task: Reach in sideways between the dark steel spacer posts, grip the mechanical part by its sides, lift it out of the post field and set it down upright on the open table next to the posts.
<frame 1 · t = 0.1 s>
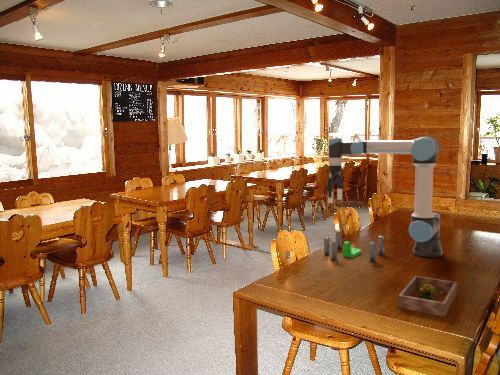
hand: (335, 201, 260), 28 cm above the table, tool pointing down, fingers open, 13 cm apart
spacer posts: (353, 254, 250), on the table
mechanical part: (353, 255, 250), on the table
christmas decoration: (428, 301, 182), resting in wooden tray
wooden tray: (428, 300, 182), on the table
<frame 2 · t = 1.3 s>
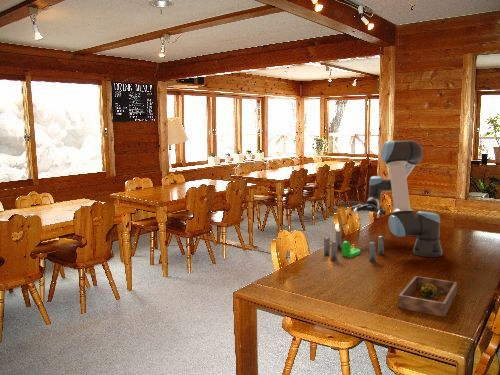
hand: (365, 214, 263), 19 cm above the table, tool horizontal, fingers open, 13 cm apart
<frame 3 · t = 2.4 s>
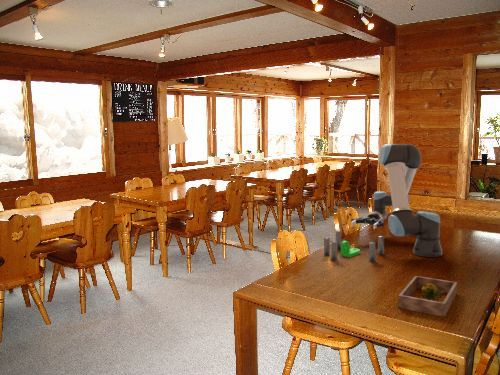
hand: (362, 225, 263), 13 cm above the table, tool horizontal, fingers open, 13 cm apart
christmas decoration: (431, 300, 183), resting in wooden tray
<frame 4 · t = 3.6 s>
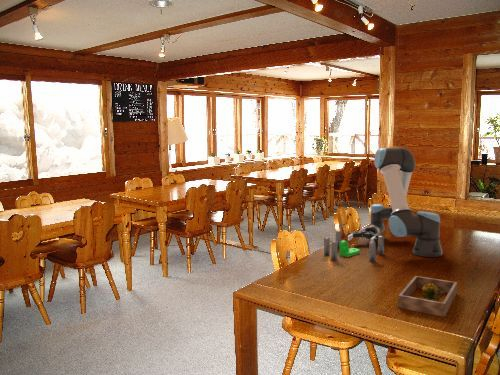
hand: (359, 239, 258), 6 cm above the table, tool horizontal, fingers open, 13 cm apart
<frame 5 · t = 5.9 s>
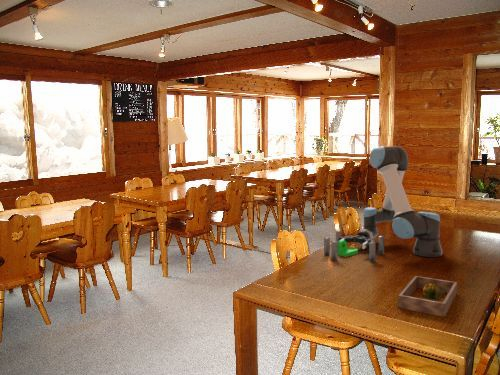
hand: (351, 245, 247), 6 cm above the table, tool horizontal, fingers open, 13 cm apart
christmas decoration: (432, 300, 183), resting in wooden tray
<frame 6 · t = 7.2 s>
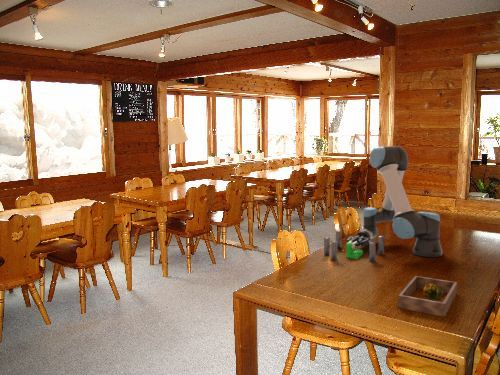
hand: (349, 246, 244), 6 cm above the table, tool horizontal, fingers closed on mechanical part, 2 cm apart
mechanical part: (355, 255, 247), on the table, touching gripper
everything else where it was.
when the fingers open (7 cm above the table, at t = 12.0 s): mechanical part drops 2 cm, on the table.
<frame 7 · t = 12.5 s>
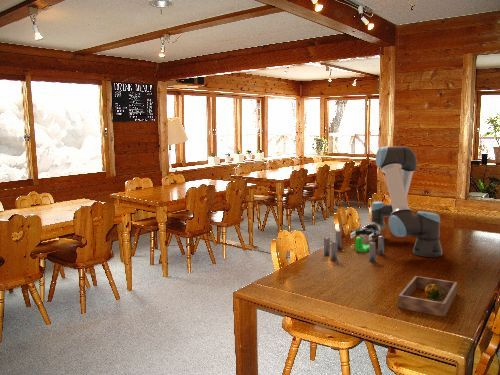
hand: (360, 237, 258), 8 cm above the table, tool horizontal, fingers open, 10 cm apart
mechanical part: (364, 249, 260), on the table
christmas decoration: (434, 300, 182), resting in wooden tray
everything else where it was.
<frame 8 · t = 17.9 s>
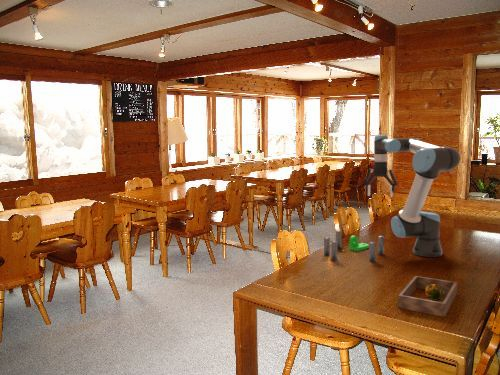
hand: (380, 196, 269), 29 cm above the table, tool pointing down, fingers open, 13 cm apart
mechanical part: (360, 249, 262), on the table
christmas decoration: (434, 300, 182), resting in wooden tray
everything else where it was.
at the end: mechanical part inside the target area (2.6 cm from its centre), on the table; mechanical part tilted 0°; the gripper is holding nothing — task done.
